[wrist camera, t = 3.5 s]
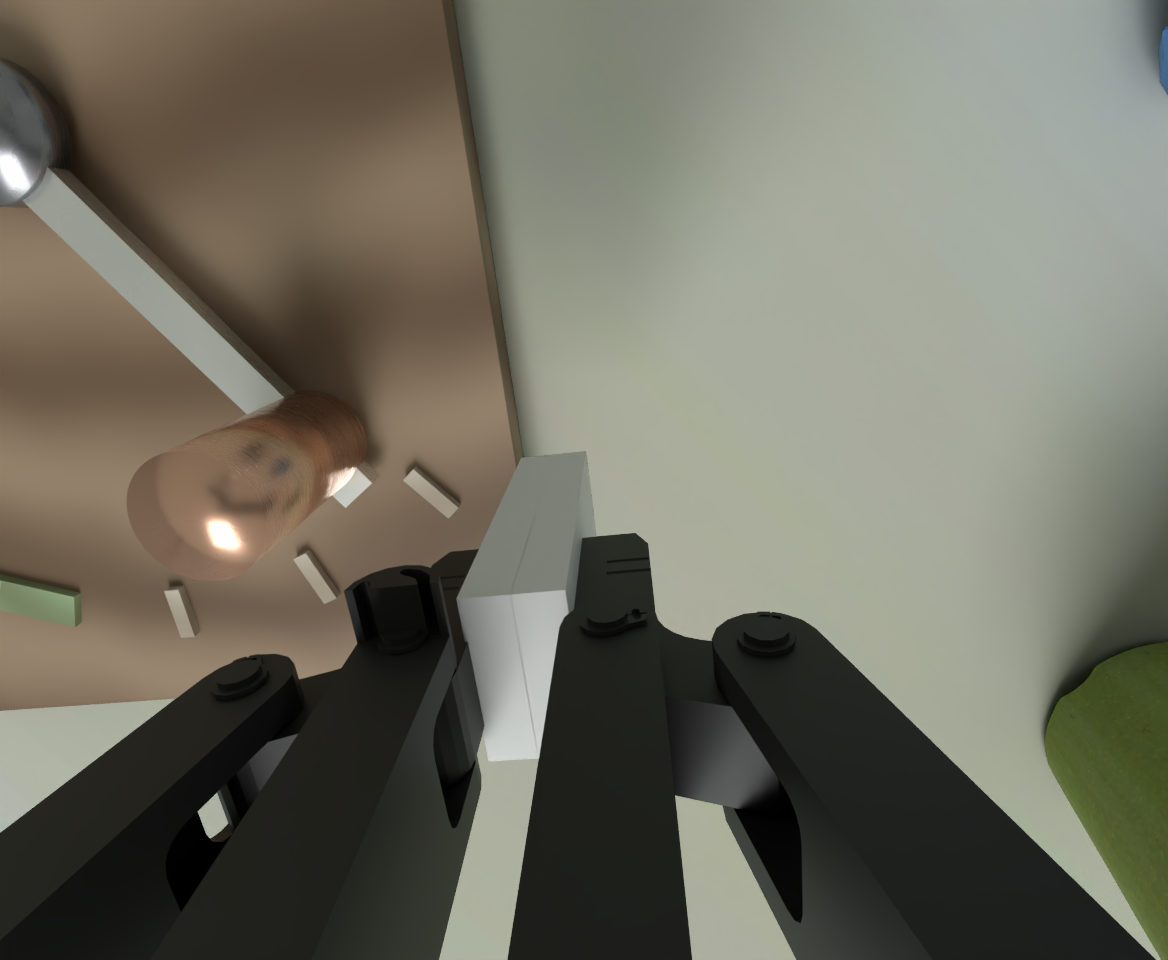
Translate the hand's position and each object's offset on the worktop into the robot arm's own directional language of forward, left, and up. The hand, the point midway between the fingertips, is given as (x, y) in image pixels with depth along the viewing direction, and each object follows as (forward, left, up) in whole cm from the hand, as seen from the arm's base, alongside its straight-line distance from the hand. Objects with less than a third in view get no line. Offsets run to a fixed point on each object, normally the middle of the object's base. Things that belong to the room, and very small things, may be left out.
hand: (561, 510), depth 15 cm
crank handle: (-6, -11, -5) cm, 13 cm away
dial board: (-4, -14, -6) cm, 16 cm away
